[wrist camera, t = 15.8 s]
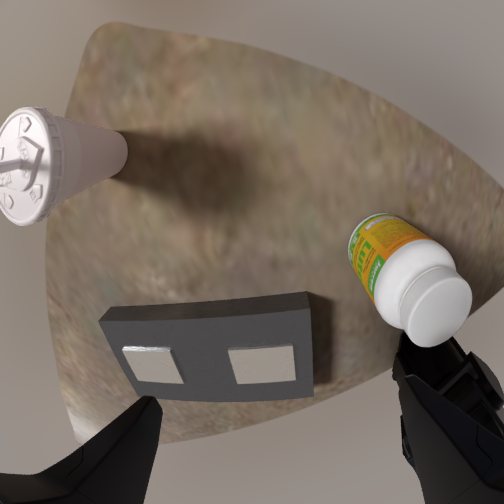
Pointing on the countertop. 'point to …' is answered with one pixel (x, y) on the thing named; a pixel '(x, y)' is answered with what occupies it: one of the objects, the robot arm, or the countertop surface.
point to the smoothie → (52, 161)
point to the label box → (216, 348)
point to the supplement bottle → (409, 279)
